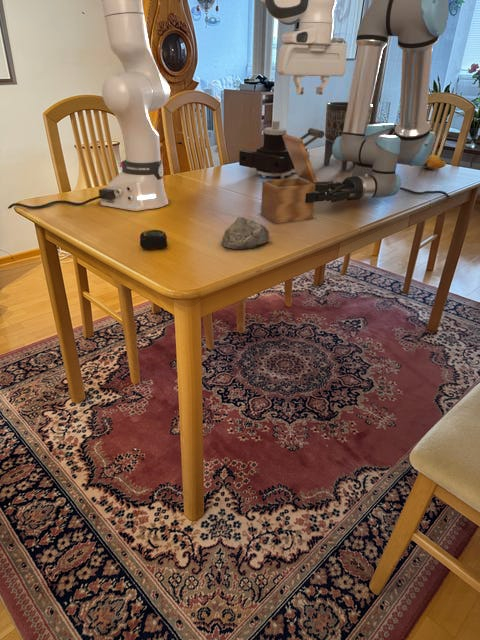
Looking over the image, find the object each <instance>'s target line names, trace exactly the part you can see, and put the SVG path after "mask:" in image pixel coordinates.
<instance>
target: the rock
mask: <svg viewBox="0 0 480 640" xmlns="http://www.w3.org/2000/svg"><path fill="white" fill-rule="evenodd" d="M269 241H270V233H269V230H268V229H267V228H266V226H265V225H263V224H261V223H259V222H256V221H255V220H252V219H247V218H245V217H241V216H238V217H237V218H236V219H235V221H234V222H233V223H232V224H231V225H229V226H228V227H227V228H226V229H225V231H224V233H223V236H222V239H221V244H222V247H224V248H229V249H231V250H245V249H254V248H257V247H259V246H260V245H264V244H266V242H269Z"/></svg>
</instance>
